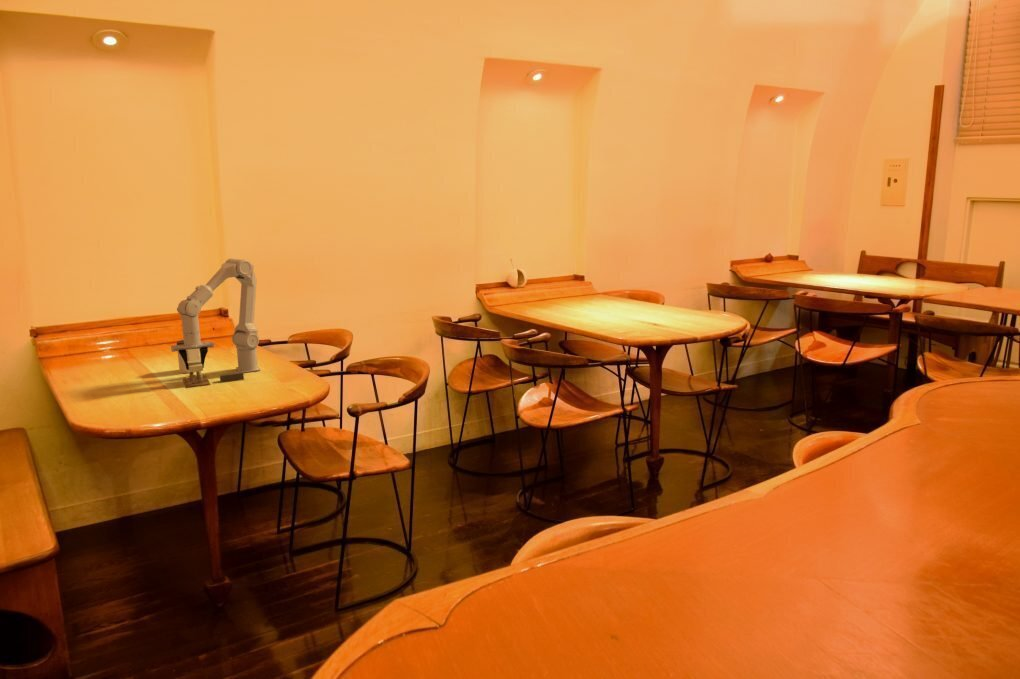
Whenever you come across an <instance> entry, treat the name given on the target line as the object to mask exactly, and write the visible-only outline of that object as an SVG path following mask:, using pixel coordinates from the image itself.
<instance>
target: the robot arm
mask: <svg viewBox="0 0 1020 679" xmlns="http://www.w3.org/2000/svg"><path fill="white" fill-rule="evenodd" d="M254 267H255V266H254V264H253V263H252V262H251V261H249V260H248V259H245V258H244V259H239V258H228V259H226V261H225V262H224V263H223V264H221V265H220V268H219V269H218V271H216V273H215V274H213V276H212V277H211V278H210V279H209V280H208V281H207V283H205V285H204V284H201V285H198V286H196V287H195V288H194V289H195V290H194V291H193V292H192V293H190V295H187V296H186V299H183V300H181V301H180V302H179V303H178V305H177V307H176V311H177V313H178V314H179V315H180V319H181V326H182V336H183V337H182V339H183V340H184V344H181V345H177V344H175V345H170V348H171V349H170V351H171V352H172V353H174V352H177V351H179V353H180V355H181V356H182V358H183V360H184V362H185V365H186V369H187V370H189V366H188V360H187V352H186V350H191V349H200V356H201V363H202V365H203V369H204V368H205V361H206V357H207V354H208V352H209V348H210V349H211V348H212V349H213V348H215V342H214V341H201V340H202V338H201V331H200V322H199V315H200V313H201V312H202V307H203V306H204V305H205V304H206V303H207V302H208V301H209V300H210V299H211V298H212V297H213V294H214V293H213V291H215V290H216V289H217V288H218V287H219V286H220V285H222V284H223V283H224V282H225V281H226V280H227V279H229V278H235V279H236V280H237V281H239V284H240V285H241V287H240V300H239V302H240V303H239V317H238V324H236V326H235V328H234V332H233V334H232V336H231V337H232V338H231V341H232V343H233V345H235V348H236V356H237V357H236V358H237V367H235V369H236V372H243V374H244V373H252V372H260V371H261V369H260V368H259V366H258V354H257V353H258V352H257V346H258V345H259V344H260V343H259V342H260V338H259V334H258V329H257V327H256V326H255V322H254V321H255V309H256V308H255V307H256V297H257V296H256V295H257V294H256V293H257V277H256V274H255V271H254V270H255V269H254Z"/></svg>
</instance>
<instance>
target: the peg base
mask: <svg viewBox="0 0 1020 679" xmlns="http://www.w3.org/2000/svg"><path fill="white" fill-rule="evenodd" d="M195 373H196V375H195ZM188 374H189V377H187V378H185V377H184V378H182V380H183V382H184V385H185V386H186V389H187V388H188V389H189V388H198V387H204V386H205V387H206V386H211V383H210V381H209V379H208V377H207V376H206V375H203V374H202V373H201V371H197V372H189V373H188Z"/></svg>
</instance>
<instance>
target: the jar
mask: <svg viewBox="0 0 1020 679" xmlns="http://www.w3.org/2000/svg"><path fill="white" fill-rule="evenodd" d="M181 344H184V339H181V340H178V341H177V342H176V345H181ZM186 352H187V360H188V361H197V360H200V362H201V356H200V349H191V350H186ZM176 353H177V359H178V368H179V374H180V373H181V374H189V372H190V371H189V370H187V369H186V365H185V362H184V360H183V358H182V356H181V355H180V353H179V351H176Z"/></svg>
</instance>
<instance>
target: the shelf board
mask: <svg viewBox="0 0 1020 679" xmlns="http://www.w3.org/2000/svg"><path fill="white" fill-rule="evenodd" d="M188 366H189V371H190V372H193V373H196V372H197V371H200V372H203V371H204V368H203V365H202V363H201V362H200V360H197V361H188Z"/></svg>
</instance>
